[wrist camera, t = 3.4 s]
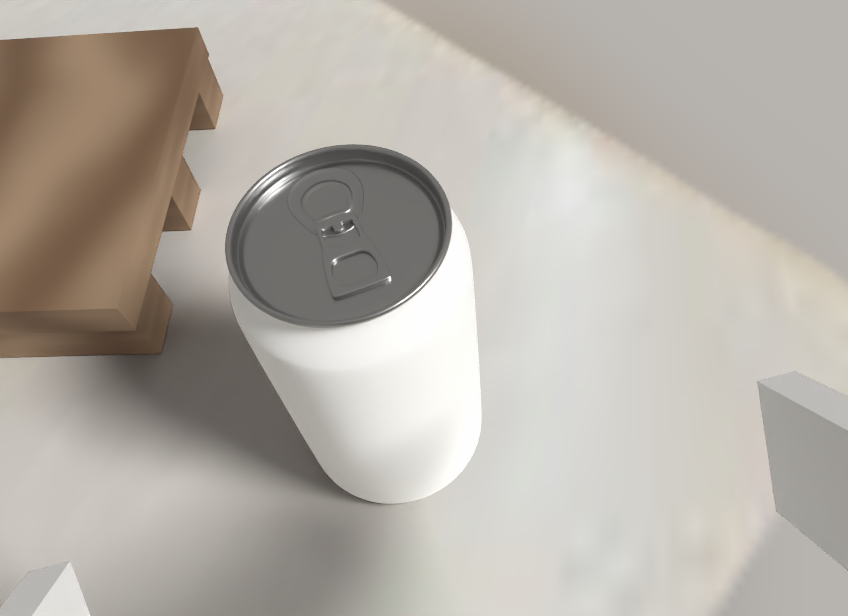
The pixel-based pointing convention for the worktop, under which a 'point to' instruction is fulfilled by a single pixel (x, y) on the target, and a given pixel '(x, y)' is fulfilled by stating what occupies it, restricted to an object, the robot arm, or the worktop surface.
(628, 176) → the worktop surface
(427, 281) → the can
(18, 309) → the platform
